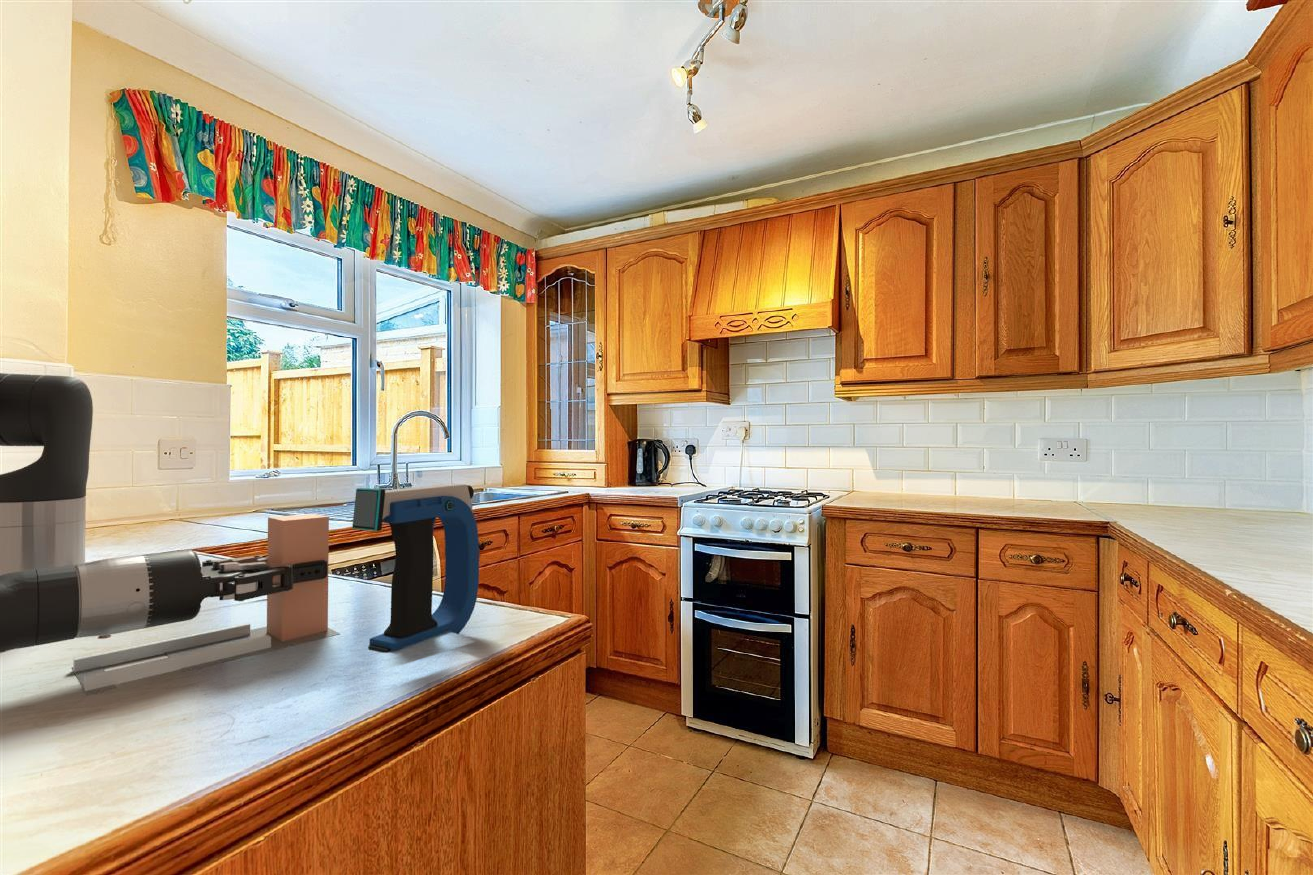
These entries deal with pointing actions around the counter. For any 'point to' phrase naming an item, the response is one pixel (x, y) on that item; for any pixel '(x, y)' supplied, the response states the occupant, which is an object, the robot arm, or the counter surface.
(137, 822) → the counter surface
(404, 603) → the handheld scanner
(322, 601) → the terracotta block
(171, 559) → the robot arm
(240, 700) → the counter surface
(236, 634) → the channel
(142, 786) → the counter surface
